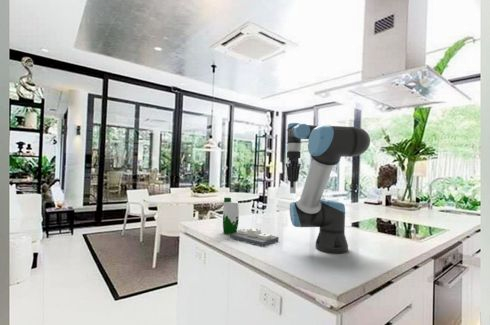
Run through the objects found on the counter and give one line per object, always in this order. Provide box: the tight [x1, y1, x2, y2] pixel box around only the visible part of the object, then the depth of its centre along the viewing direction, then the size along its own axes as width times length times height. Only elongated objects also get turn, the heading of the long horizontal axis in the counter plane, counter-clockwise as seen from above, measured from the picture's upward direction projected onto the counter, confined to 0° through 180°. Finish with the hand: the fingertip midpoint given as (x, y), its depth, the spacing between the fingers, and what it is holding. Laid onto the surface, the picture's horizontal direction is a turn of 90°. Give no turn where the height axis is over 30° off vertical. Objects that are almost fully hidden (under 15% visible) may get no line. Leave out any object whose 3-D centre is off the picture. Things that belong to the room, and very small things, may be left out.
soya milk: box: [222, 197, 240, 235], centre depth 160 cm, size 9×9×20 cm
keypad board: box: [229, 231, 279, 247], centre depth 146 cm, size 22×14×2 cm, turn 50°
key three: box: [237, 228, 247, 235], centre depth 150 cm, size 5×5×4 cm
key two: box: [246, 227, 261, 237], centre depth 146 cm, size 5×5×4 cm
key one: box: [258, 232, 272, 240], centre depth 141 cm, size 5×5×4 cm
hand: (292, 193), depth 153 cm, fingers closed
